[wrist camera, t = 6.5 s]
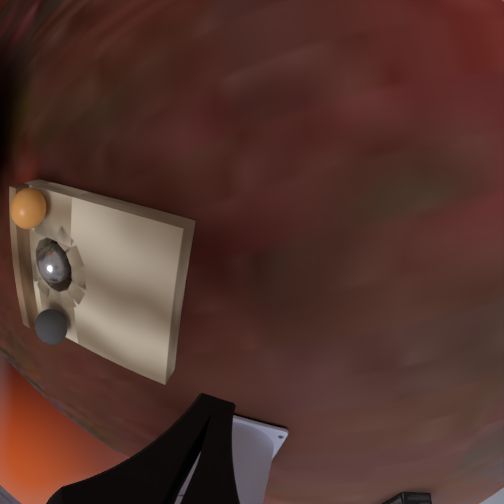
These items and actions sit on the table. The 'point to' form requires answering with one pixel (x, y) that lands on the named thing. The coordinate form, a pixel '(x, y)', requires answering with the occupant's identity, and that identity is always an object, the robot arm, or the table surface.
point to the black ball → (51, 326)
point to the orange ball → (28, 208)
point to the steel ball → (54, 263)
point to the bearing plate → (108, 275)
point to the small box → (410, 498)
